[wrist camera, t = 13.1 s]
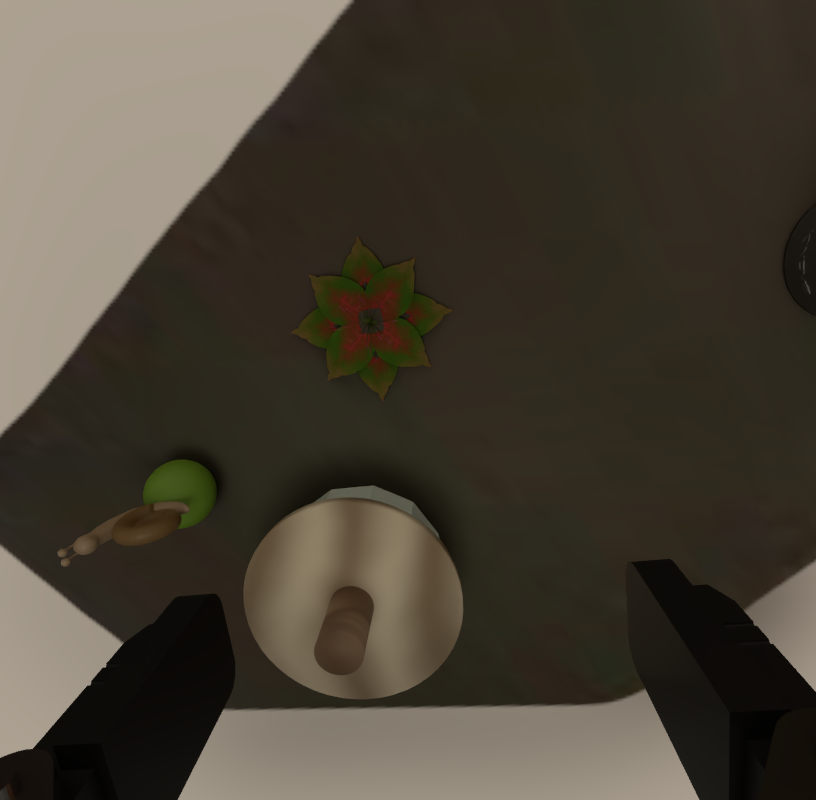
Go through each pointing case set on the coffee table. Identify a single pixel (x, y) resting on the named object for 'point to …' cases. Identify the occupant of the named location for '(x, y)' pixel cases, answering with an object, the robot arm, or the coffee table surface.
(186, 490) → the snail figurine
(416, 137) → the coffee table surface
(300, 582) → the lid
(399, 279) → the lily flower
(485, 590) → the coffee table surface
